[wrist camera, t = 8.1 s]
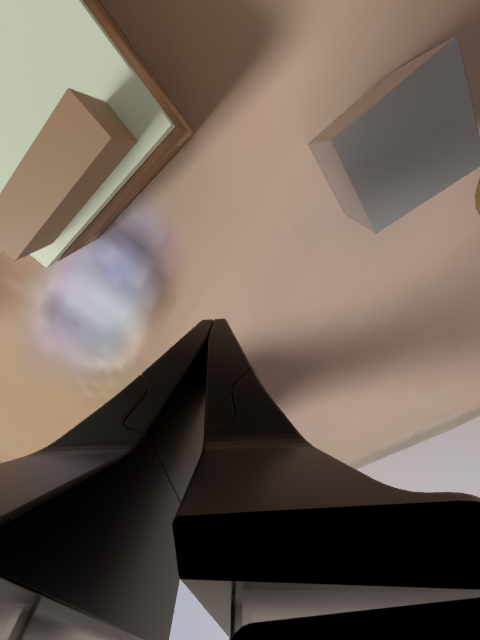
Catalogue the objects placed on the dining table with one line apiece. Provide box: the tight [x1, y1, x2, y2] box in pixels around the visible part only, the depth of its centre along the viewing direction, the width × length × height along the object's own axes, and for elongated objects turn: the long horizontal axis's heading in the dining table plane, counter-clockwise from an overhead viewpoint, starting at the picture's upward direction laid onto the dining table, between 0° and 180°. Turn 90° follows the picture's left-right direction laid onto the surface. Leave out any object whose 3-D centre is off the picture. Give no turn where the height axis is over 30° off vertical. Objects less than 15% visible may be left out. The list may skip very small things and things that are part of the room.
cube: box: [308, 36, 480, 233], centre depth 13 cm, size 5×5×5 cm
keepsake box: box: [57, 0, 194, 261], centre depth 12 cm, size 12×10×4 cm
